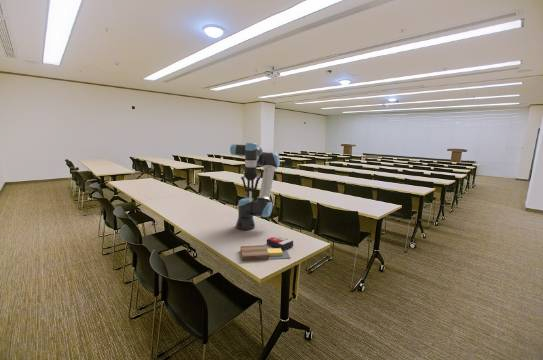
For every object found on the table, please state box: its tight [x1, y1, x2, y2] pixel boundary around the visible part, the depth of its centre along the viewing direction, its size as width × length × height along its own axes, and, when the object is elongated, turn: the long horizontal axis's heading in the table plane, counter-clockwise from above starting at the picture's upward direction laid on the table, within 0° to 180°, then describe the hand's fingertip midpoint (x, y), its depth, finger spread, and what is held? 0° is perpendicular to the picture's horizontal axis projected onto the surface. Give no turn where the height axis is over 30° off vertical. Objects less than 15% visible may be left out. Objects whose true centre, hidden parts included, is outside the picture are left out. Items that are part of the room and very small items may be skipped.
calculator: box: [266, 235, 294, 250], centre depth 174 cm, size 11×4×15 cm
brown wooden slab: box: [240, 244, 270, 262], centre depth 158 cm, size 14×16×3 cm
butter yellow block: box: [267, 247, 283, 256], centre depth 161 cm, size 6×9×2 cm, turn 100°
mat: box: [269, 247, 291, 261], centre depth 161 cm, size 14×13×1 cm
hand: (250, 201), depth 172 cm, fingers closed
